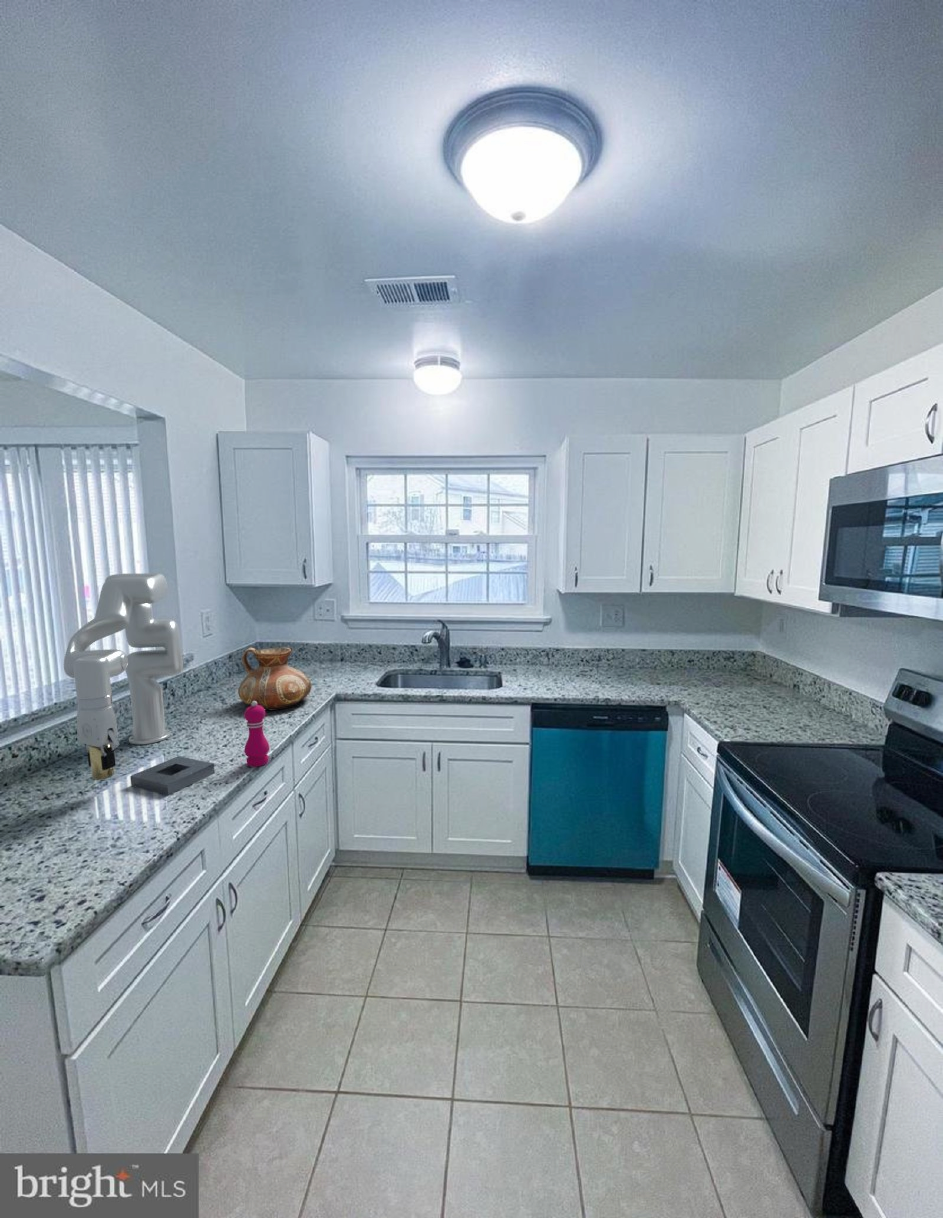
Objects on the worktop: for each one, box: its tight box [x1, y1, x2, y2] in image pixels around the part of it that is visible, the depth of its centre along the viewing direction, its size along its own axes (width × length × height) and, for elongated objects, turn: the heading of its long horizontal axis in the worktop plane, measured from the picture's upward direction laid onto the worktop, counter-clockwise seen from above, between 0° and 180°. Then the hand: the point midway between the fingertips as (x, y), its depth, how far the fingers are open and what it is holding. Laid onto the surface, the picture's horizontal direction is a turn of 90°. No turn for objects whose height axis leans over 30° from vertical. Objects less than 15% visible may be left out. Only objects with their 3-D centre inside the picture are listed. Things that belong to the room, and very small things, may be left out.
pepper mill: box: [243, 701, 270, 768], centre depth 159 cm, size 7×7×20 cm
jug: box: [237, 647, 312, 711], centre depth 221 cm, size 30×30×25 cm
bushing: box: [89, 741, 115, 781], centre depth 139 cm, size 5×5×9 cm
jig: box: [130, 755, 215, 796], centre depth 149 cm, size 15×15×3 cm
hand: (102, 765), depth 139 cm, fingers closed on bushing, 4 cm apart
